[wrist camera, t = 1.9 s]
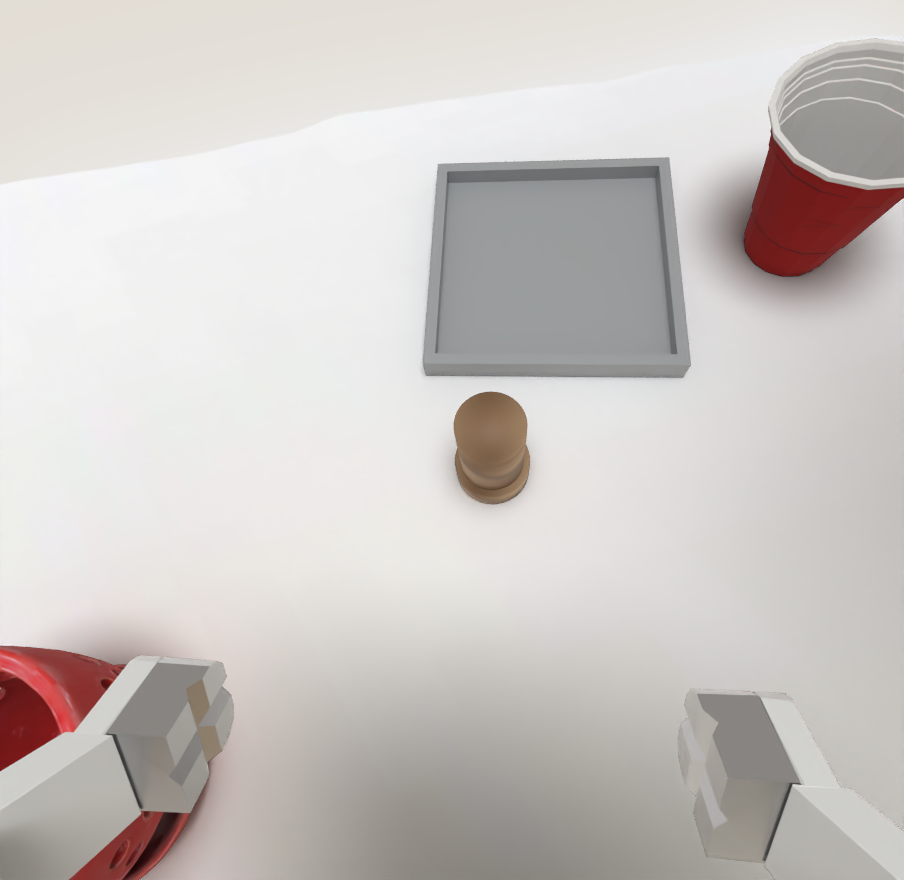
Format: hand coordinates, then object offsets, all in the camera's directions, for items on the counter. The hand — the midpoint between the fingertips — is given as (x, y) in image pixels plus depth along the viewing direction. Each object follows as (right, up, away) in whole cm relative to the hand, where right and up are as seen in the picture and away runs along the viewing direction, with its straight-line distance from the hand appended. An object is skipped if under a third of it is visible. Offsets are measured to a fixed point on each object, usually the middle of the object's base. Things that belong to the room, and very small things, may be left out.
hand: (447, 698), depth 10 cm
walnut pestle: (+3, +3, +28) cm, 29 cm away
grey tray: (+8, +18, +34) cm, 39 cm away
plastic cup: (+25, +19, +33) cm, 45 cm away
